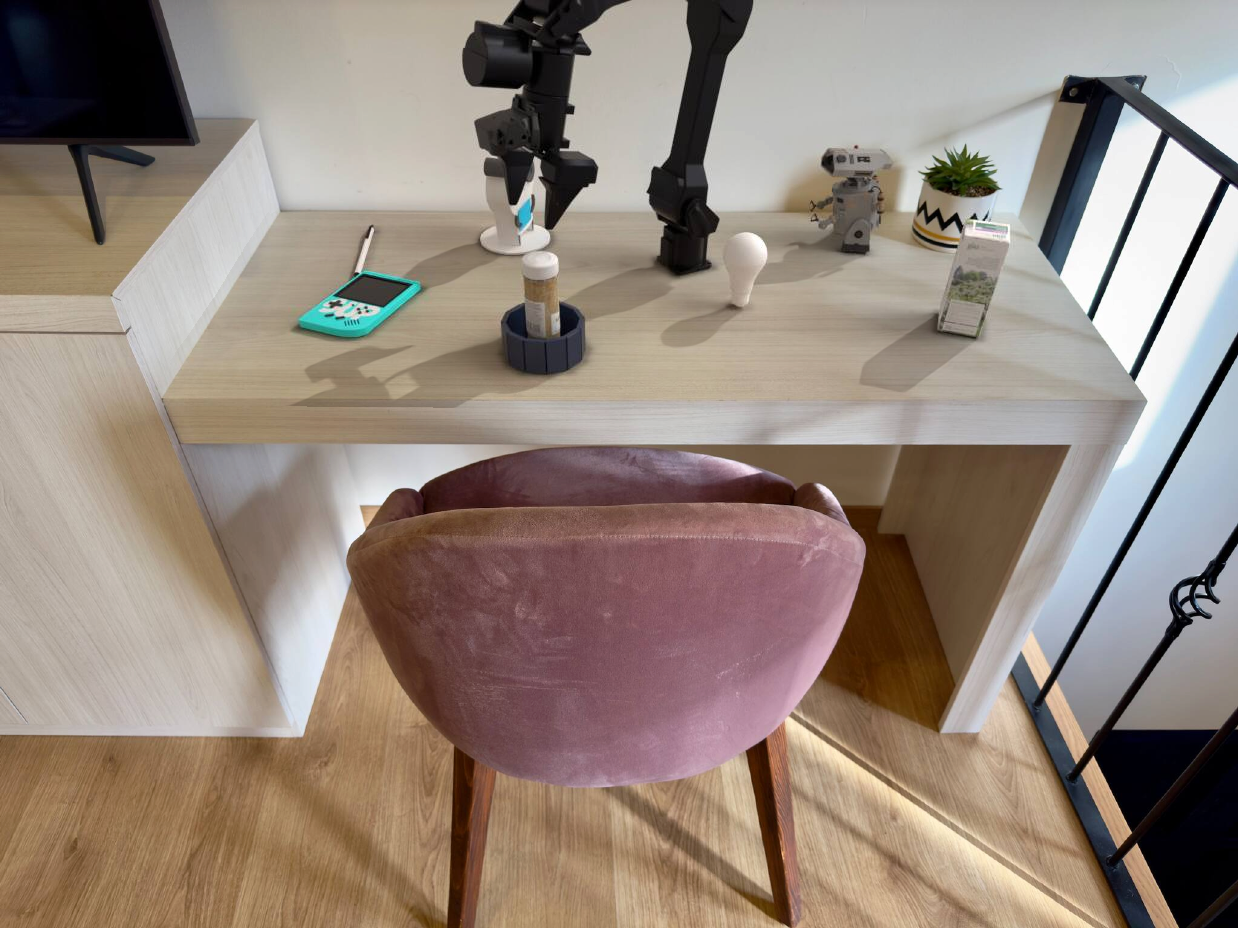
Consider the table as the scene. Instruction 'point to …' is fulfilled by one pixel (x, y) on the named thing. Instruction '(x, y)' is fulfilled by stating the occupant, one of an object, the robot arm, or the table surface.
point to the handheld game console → (360, 305)
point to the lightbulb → (743, 264)
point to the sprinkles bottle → (541, 294)
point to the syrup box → (973, 277)
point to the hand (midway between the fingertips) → (530, 217)
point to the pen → (364, 251)
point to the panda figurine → (511, 215)
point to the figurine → (854, 194)
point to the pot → (543, 342)
